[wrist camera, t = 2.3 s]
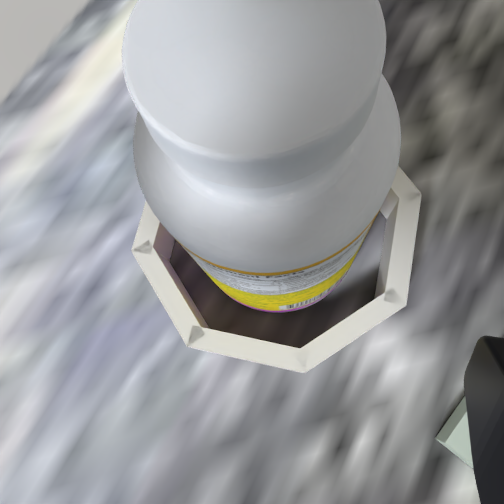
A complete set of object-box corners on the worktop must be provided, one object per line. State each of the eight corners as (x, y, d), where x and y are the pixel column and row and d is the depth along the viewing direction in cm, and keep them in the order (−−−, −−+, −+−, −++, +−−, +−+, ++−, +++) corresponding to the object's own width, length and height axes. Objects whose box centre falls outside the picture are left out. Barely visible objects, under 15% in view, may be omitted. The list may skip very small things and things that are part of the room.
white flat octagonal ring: (239, 416, 19) (231, 422, 16) (117, 210, 21) (95, 190, 19) (452, 273, 19) (475, 259, 17) (308, 93, 22) (310, 58, 20)
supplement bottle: (232, 155, 22) (150, -141, 9) (371, 193, 21) (489, -82, 8) (181, 288, 20) (2, 151, 8) (327, 338, 19) (392, 269, 7)
